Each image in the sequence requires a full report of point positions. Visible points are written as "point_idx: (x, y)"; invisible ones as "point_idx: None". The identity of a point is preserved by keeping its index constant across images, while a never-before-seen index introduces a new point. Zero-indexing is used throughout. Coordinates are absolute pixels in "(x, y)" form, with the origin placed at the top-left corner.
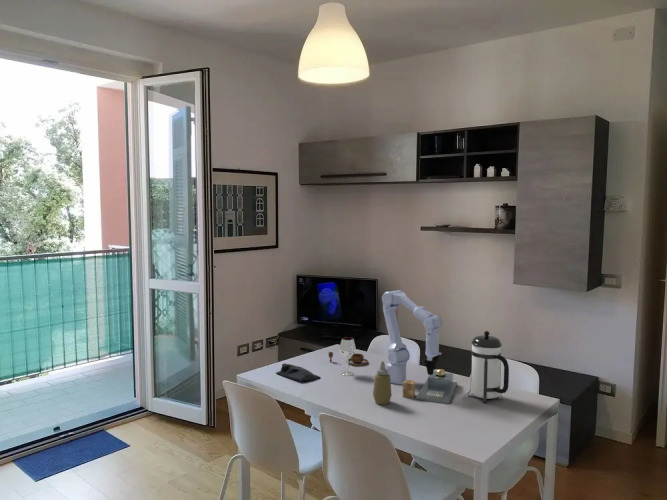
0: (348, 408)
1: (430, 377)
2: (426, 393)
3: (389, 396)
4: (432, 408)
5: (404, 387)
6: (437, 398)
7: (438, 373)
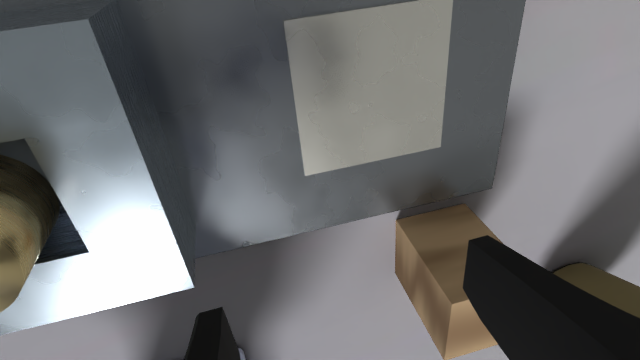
0: None
1: (179, 269)
2: (398, 158)
3: (634, 286)
4: (634, 8)
5: None
6: (492, 28)
7: (36, 252)
